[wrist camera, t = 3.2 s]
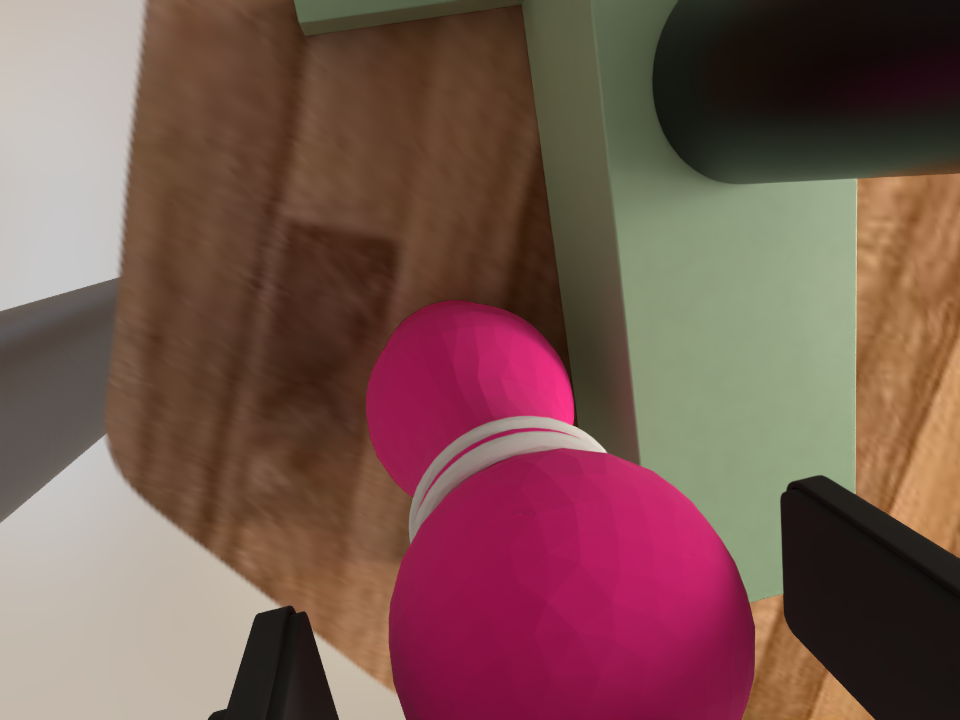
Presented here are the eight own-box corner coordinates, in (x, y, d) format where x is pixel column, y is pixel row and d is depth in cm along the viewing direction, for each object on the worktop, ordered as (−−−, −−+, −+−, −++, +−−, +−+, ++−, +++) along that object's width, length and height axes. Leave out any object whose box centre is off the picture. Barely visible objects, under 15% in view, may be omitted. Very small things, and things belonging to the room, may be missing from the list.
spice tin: (660, 200, 18) (987, 197, 8) (641, -28, 16) (1023, -363, 7) (843, 165, 18) (1343, 126, 9) (843, -56, 17) (1459, -399, 7)
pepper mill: (347, 429, 25) (250, 1135, 6) (395, 265, 24) (461, 518, 5) (506, 467, 27) (817, 1116, 8) (560, 315, 25) (1098, 654, 6)
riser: (426, 569, 28) (441, 687, 21) (293, -14, 21) (252, -116, 14) (747, 489, 29) (855, 575, 23) (718, -72, 23) (860, -187, 16)
